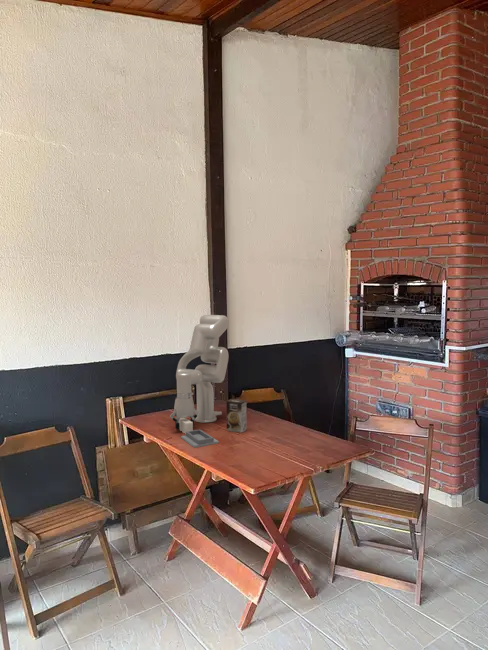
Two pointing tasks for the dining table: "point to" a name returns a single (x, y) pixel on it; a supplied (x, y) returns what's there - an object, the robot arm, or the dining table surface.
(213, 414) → the robot arm
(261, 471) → the dining table surface
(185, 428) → the long beige rectangular prism
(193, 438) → the cradle
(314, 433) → the dining table surface
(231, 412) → the coffee box
